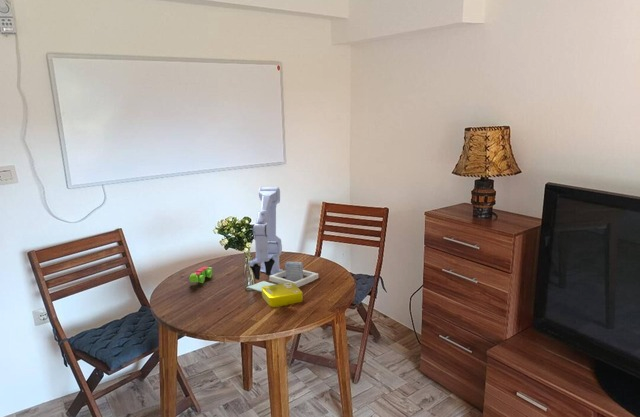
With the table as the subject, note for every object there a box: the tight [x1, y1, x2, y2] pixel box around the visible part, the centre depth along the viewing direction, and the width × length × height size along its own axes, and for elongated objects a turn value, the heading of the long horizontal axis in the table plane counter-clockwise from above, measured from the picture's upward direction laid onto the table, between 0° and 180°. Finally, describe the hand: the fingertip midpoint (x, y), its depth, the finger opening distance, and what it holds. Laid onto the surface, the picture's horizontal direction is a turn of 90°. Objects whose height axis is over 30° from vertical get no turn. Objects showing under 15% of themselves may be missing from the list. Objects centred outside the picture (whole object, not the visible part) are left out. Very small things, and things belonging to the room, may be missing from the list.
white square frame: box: [268, 269, 319, 288], centre depth 212 cm, size 17×17×2 cm
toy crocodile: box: [188, 266, 213, 284], centre depth 214 cm, size 20×7×6 cm, turn 168°
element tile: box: [261, 282, 304, 308], centre depth 189 cm, size 15×15×5 cm
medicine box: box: [284, 260, 304, 282], centre depth 211 cm, size 8×4×9 cm, turn 77°
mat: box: [247, 280, 276, 293], centre depth 203 cm, size 10×10×1 cm
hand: (262, 277), depth 202 cm, fingers open, 6 cm apart
